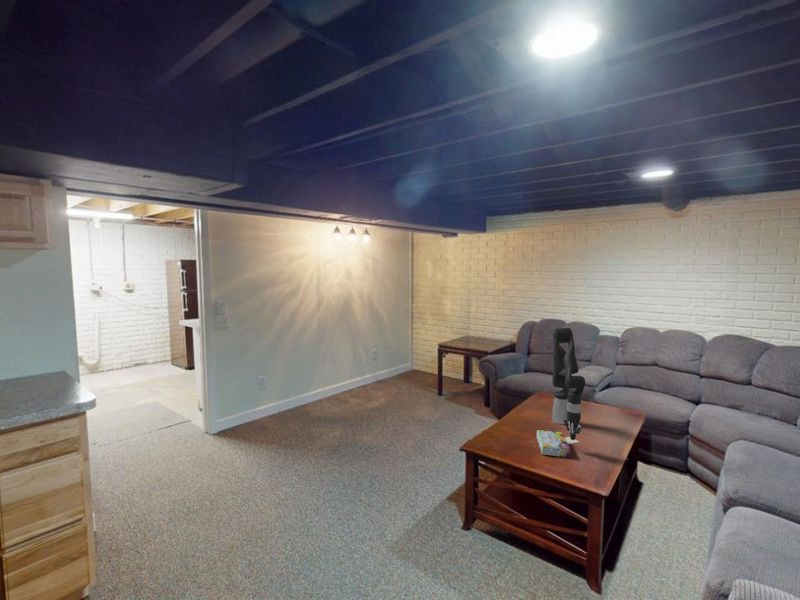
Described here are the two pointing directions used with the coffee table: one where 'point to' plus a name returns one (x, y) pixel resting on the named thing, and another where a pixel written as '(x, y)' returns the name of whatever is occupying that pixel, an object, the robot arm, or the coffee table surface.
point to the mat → (571, 441)
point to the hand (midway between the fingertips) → (572, 439)
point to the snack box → (553, 443)
